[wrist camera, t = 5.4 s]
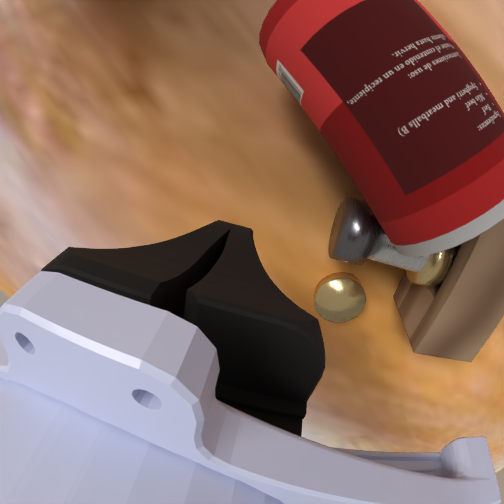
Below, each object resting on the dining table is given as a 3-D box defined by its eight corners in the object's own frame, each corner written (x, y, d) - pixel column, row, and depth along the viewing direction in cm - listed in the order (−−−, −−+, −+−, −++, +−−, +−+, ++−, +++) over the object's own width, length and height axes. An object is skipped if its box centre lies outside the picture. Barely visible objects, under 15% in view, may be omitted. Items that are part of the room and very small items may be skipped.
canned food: (319, 59, 17) (422, 208, 17) (221, 66, 12) (367, 279, 13) (403, -19, 10) (529, 155, 11) (327, -68, 6) (542, 214, 6)
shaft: (326, 242, 19) (330, 272, 16) (344, 186, 18) (355, 207, 14) (480, 288, 19) (500, 317, 16) (502, 246, 17) (527, 271, 14)
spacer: (370, 277, 22) (373, 286, 21) (352, 316, 23) (354, 326, 22) (323, 265, 22) (324, 274, 21) (308, 306, 23) (308, 316, 22)
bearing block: (393, 296, 22) (413, 352, 17) (448, 168, 17) (496, 196, 12) (444, 309, 22) (470, 362, 16) (500, 193, 17) (549, 227, 12)
